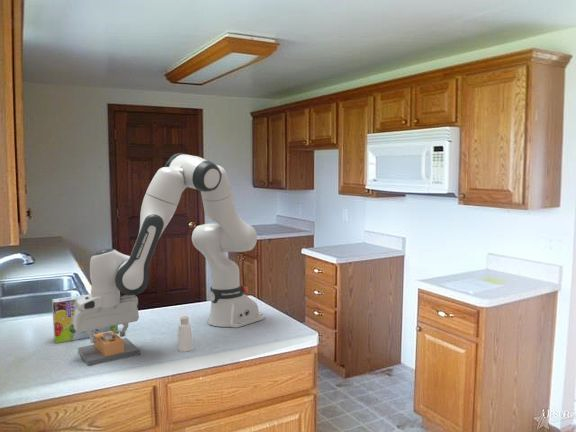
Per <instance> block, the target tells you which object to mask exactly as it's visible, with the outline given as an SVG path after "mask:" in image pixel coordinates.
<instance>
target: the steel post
mask: <svg viewBox="0 0 576 432" xmlns="http://www.w3.org/2000/svg"><path fill="white" fill-rule="evenodd" d="M112 338H113V333H110V332H109V333H104V334H103V340H108V339H112Z"/></svg>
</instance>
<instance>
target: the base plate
mask: <svg viewBox="0 0 576 432" xmlns="http://www.w3.org/2000/svg"><path fill="white" fill-rule="evenodd" d="M122 339H123V340H124V352H122V353H118V354H114V355H110V356H106V357H105V356H104V355H103V354H102V353H101V352H100V351H99V350H98V349H97V348H96V347H94V344H90V345H86V346H81V347H78V348H77V352H78V353H79V355H80V356H81V358H82V360H84V362H85V363H86V364H87V366H94V365H98V364H102V363H107V362H111V361H115V360H119V359H123V358H128V357H133V356H137V355H140V348H138V346H136V345H135V344H134V343H133V342H132V341H130V340H129V339H128V338H127V337H122Z"/></svg>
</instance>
